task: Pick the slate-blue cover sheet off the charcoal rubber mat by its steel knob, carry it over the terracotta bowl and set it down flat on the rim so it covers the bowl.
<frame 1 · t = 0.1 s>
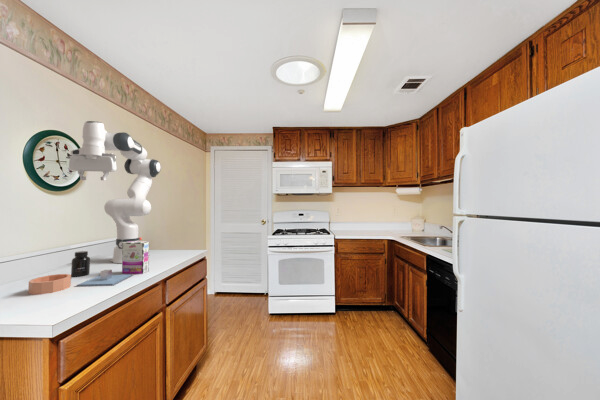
hand: (93, 180, 123), 48 cm above the worktop, fingers open, 8 cm apart
cover sheet: (106, 280, 113), resting on mat
mat: (106, 281, 113), on the worktop
bowl: (50, 290, 101), on the worktop
candy bar box: (135, 273, 127), on the worktop
supplement bottle: (80, 276, 121), on the worktop
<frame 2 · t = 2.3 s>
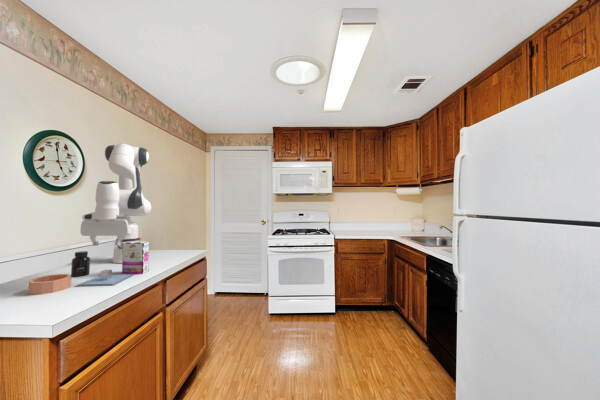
hand: (106, 245, 113), 17 cm above the worktop, fingers open, 8 cm apart
nothing on the worktop moved.
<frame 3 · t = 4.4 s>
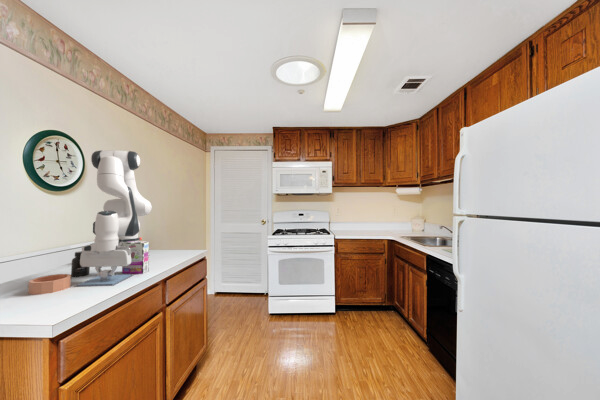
hand: (106, 275, 113), 3 cm above the worktop, fingers closed on cover sheet, 3 cm apart
cover sheet: (106, 280, 113), resting on mat, touching gripper
everything else where it was.
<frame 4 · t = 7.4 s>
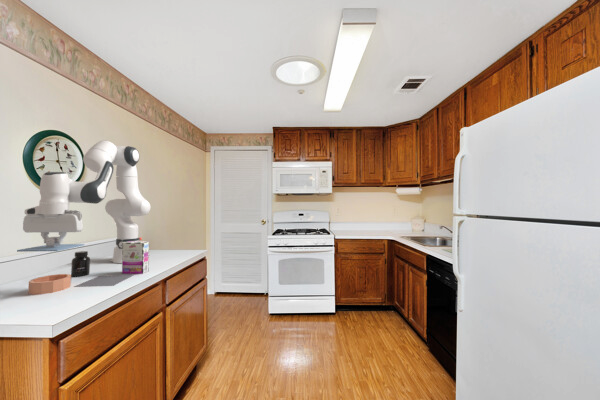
hand: (53, 243, 102), 19 cm above the worktop, fingers closed on cover sheet, 3 cm apart
cover sheet: (53, 248, 102), point 17 cm above the worktop, touching gripper
everything else where it was.
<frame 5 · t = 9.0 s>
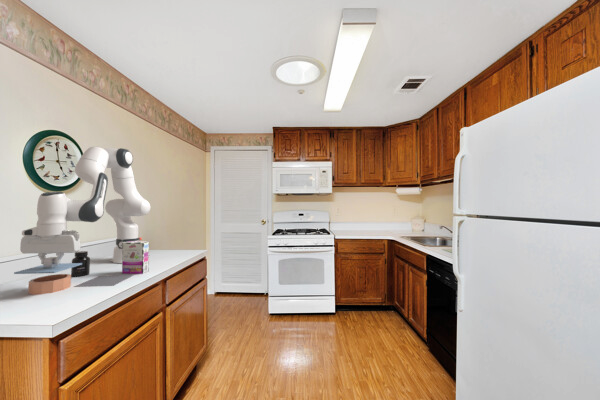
hand: (51, 263, 101), 11 cm above the worktop, fingers closed on cover sheet, 3 cm apart
cover sheet: (50, 268, 101), point 9 cm above the worktop, touching gripper
everything else where it was.
when the fingers open (9 cm above the worktop, at t = 10.2 s): cover sheet drops 1 cm, resting on bowl.
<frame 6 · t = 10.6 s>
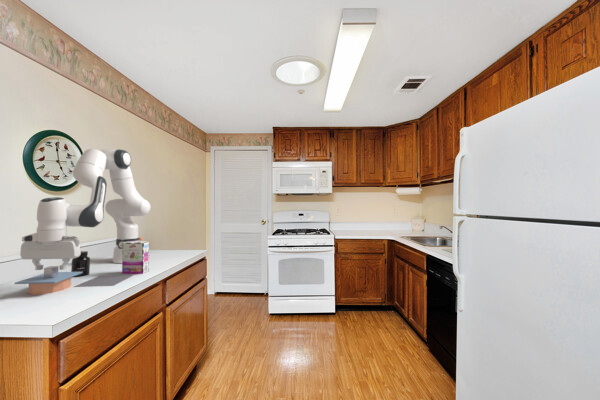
hand: (51, 269, 102), 9 cm above the worktop, fingers open, 8 cm apart
cover sheet: (51, 278, 101), point 5 cm above the worktop, touching bowl
everything else where it was.
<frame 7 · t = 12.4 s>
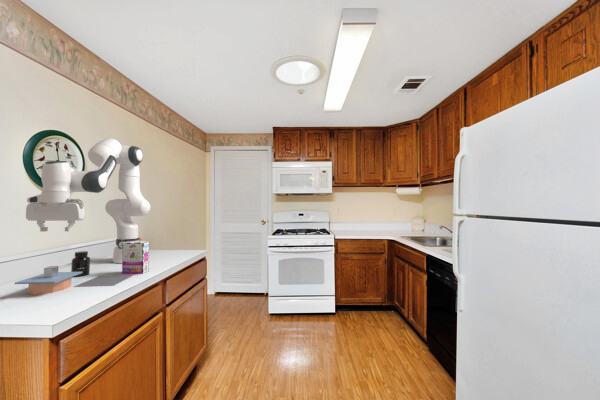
hand: (56, 231, 103), 24 cm above the worktop, fingers open, 8 cm apart
nothing on the worktop moved.
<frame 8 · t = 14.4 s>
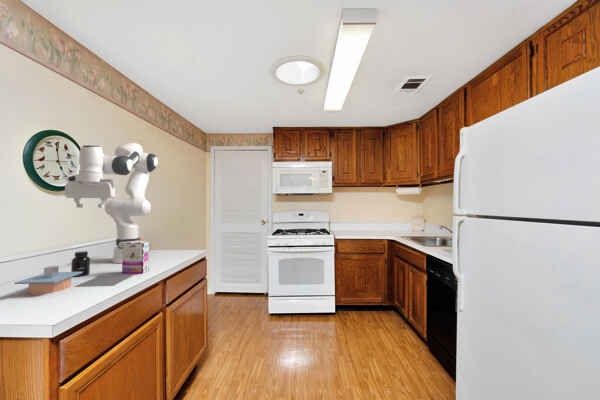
hand: (90, 207, 116), 34 cm above the worktop, fingers open, 8 cm apart
nothing on the worktop moved.
at the end: cover sheet 0.0 cm off-centre on the bowl, point 5.0 cm above the bowl's base; cover sheet tilted 0°; the gripper is holding nothing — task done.
